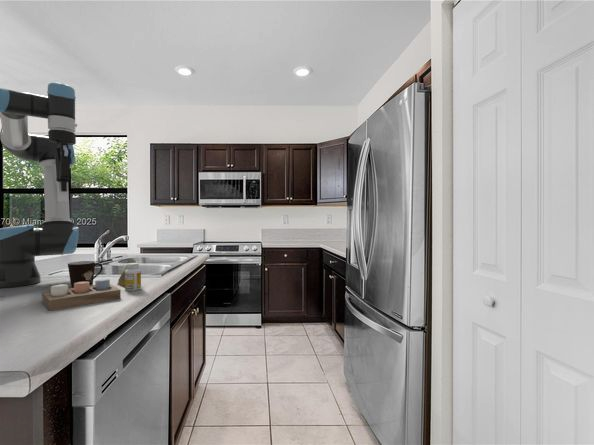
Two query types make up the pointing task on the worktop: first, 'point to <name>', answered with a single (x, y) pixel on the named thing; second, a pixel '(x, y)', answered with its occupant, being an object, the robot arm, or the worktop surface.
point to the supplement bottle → (132, 277)
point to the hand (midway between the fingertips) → (63, 201)
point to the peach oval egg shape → (81, 287)
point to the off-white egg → (59, 290)
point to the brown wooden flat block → (80, 297)
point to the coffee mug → (82, 272)
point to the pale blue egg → (102, 284)
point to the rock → (122, 277)
